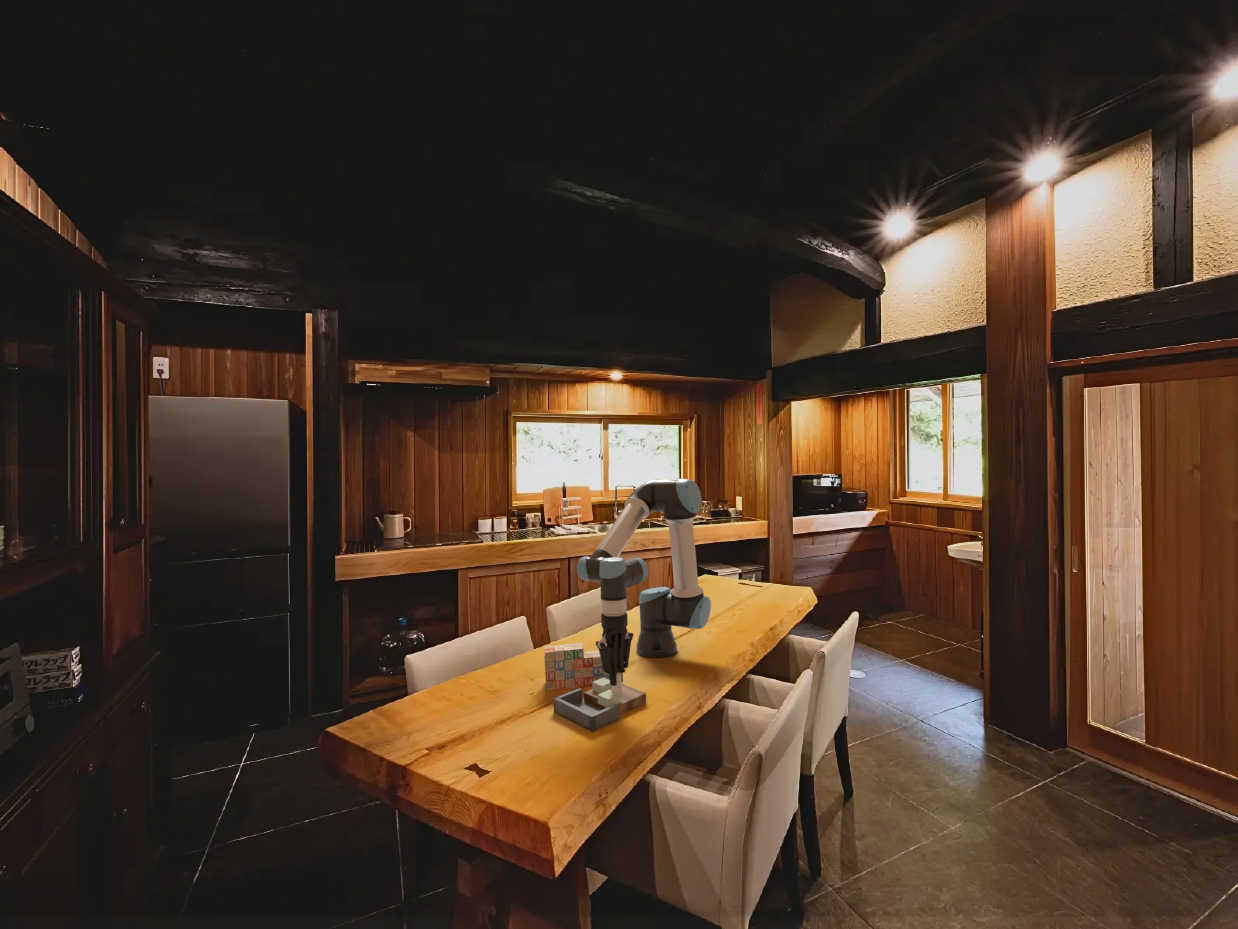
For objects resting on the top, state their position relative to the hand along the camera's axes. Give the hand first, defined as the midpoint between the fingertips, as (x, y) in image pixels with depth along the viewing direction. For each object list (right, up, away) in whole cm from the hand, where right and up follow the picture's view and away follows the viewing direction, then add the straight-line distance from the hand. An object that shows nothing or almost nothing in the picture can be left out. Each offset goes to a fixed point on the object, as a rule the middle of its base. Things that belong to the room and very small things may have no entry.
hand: (616, 695), depth 156 cm
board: (-1, -4, +5) cm, 7 cm away
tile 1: (-4, -1, +7) cm, 8 cm away
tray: (-9, -5, -3) cm, 10 cm away
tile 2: (-2, -1, -2) cm, 3 cm away
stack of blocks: (-12, -5, +20) cm, 24 cm away
